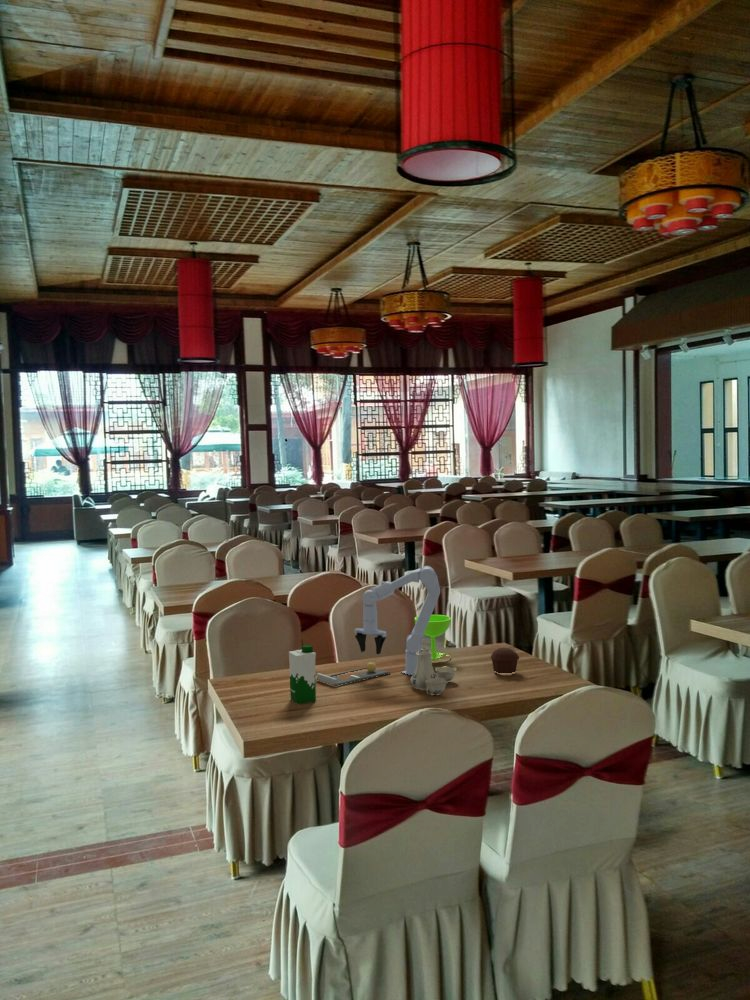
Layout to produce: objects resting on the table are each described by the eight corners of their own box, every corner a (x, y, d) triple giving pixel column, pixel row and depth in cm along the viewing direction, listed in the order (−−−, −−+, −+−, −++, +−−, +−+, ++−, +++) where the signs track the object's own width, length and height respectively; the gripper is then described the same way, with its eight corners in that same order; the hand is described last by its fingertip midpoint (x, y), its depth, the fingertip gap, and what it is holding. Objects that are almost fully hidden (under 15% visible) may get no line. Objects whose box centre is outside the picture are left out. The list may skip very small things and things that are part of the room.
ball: (378, 672, 333) (377, 662, 332) (370, 673, 330) (370, 664, 330) (372, 670, 336) (371, 660, 336) (364, 671, 333) (364, 662, 333)
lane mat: (390, 674, 332) (389, 666, 331) (335, 687, 314) (334, 679, 314) (371, 668, 341) (371, 661, 341) (317, 681, 323) (316, 673, 323)
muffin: (484, 673, 330) (484, 648, 330) (502, 668, 338) (501, 644, 337) (508, 678, 322) (507, 653, 321) (525, 673, 329) (525, 648, 329)
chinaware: (448, 703, 296) (452, 659, 294) (403, 697, 299) (407, 653, 298) (456, 682, 323) (460, 641, 322) (415, 677, 326) (418, 636, 325)
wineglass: (409, 656, 360) (409, 616, 360) (443, 653, 365) (442, 613, 364) (422, 665, 345) (422, 623, 344) (457, 661, 350) (456, 620, 349)
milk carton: (319, 701, 295) (318, 647, 294) (296, 705, 291) (294, 650, 290) (309, 695, 303) (308, 642, 302) (287, 699, 299) (285, 645, 298)
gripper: (390, 619, 331) (391, 652, 332) (361, 616, 339) (361, 648, 340) (381, 622, 325) (381, 656, 326) (351, 619, 333) (352, 652, 334)
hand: (370, 652), depth 333 cm, fingers open, 7 cm apart
